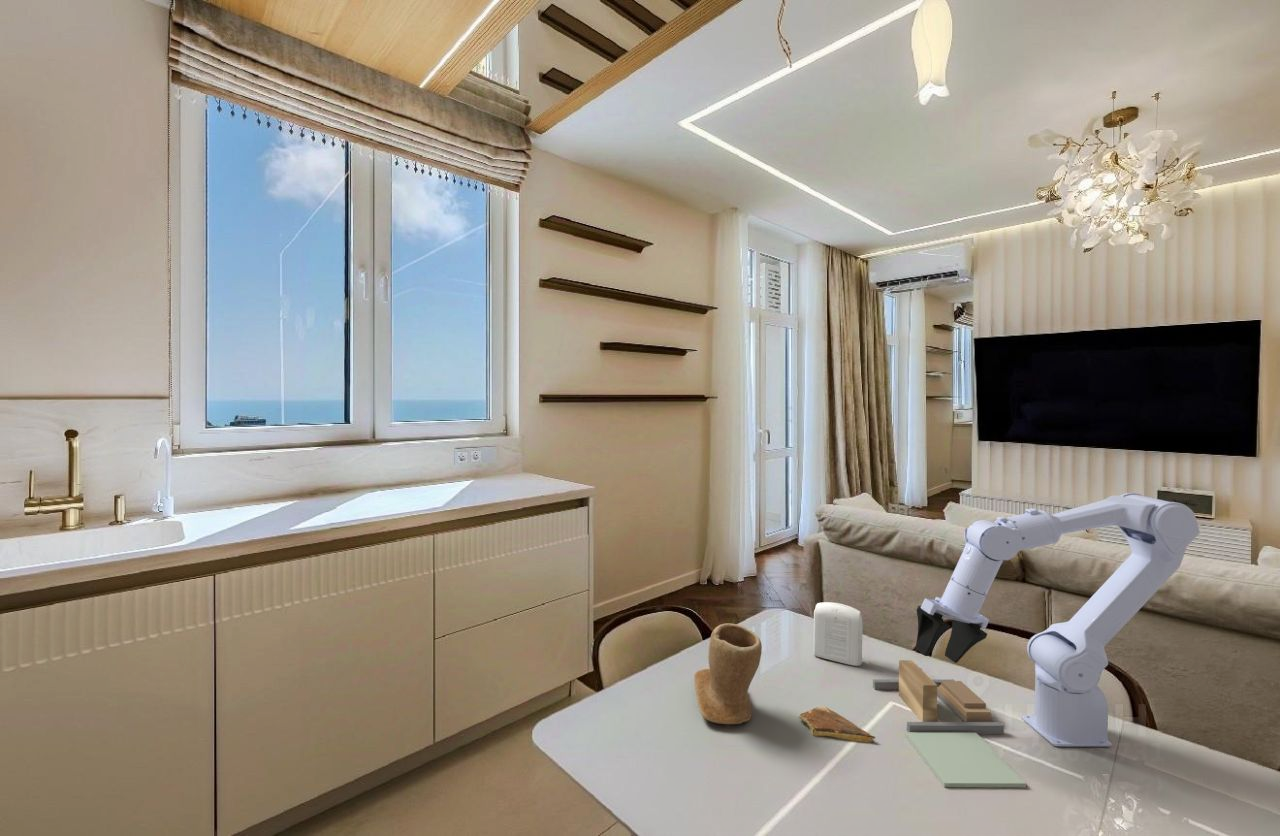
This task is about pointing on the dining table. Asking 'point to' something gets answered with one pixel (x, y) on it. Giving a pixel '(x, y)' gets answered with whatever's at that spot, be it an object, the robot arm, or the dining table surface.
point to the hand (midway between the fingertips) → (936, 655)
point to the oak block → (918, 691)
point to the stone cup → (728, 675)
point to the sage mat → (963, 760)
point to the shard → (833, 725)
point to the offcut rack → (953, 709)
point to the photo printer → (838, 633)
